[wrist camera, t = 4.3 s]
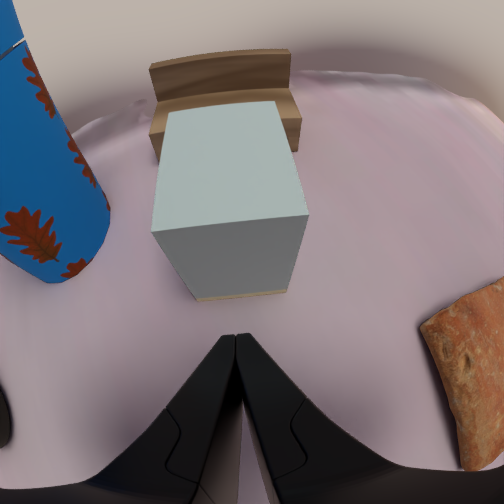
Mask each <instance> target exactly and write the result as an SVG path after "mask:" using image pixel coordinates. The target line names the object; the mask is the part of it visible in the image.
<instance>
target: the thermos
mask: <svg viewBox="0 0 504 504" xmlns="http://www.w3.org/2000/svg"><path fill="white" fill-rule="evenodd" d="M23 37H24V35H23V32H22V30H21V27H20V24H19V21H18V18H17V15H16V12H15V9H14V5H13V2H12V0H0V254H1V255H2V256H3V257H5V258H6V259H7V260H9V261H10V262H12V263H13V264H15V265H17V266H18V267H20V268H22V269H23V270H25V271H27V272H28V273H30V274H32V275H34V276H36V277H37V278H39V279H41V280H43V281H45V282H46V283H60V282H63V281H65V280H67V279H69V278H71V277H73V276H75V275H77V274H78V273H79V272H80V271H81V270H82V269H83V268H84V267H85V266H86V265H87V264H89V263H90V262H91V261H92V259H93V258H94V256H95V254H96V253H97V251H98V250H99V248H100V247H101V245H102V244H103V242H104V239H105V236H106V233H107V230H108V227H109V224H110V206H109V203H108V201H107V198H106V196H105V194H104V192H103V190H102V189H101V187H100V185H99V183H98V181H97V180H96V178H95V176H94V174H93V172H92V170H91V168H90V167H89V165H88V163H87V162H86V160H85V158H84V157H83V155H82V153H81V152H80V150H79V148H78V147H77V145H76V143H75V141H74V140H73V138H72V136H71V134H70V133H69V131H68V129H67V127H66V125H65V124H64V122H63V120H62V118H61V116H60V114H59V113H58V111H57V109H56V107H55V105H54V103H53V101H52V99H51V97H50V95H49V93H48V91H47V89H46V87H45V84H44V82H43V80H42V78H41V76H40V74H39V71H38V69H37V67H36V65H35V62H34V60H33V58H32V55H31V53H30V50H29V48H28V45H27V43H26V41H25V40H24V41H23V42H21V43H19V44H18V45H16V46H15V47H13V45H14V44H16V43H17V42H18V41H20V40H21V39H22V38H23Z"/></svg>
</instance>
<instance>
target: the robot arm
mask: <svg viewBox="0 0 504 504" xmlns="http://www.w3.org/2000/svg"><path fill="white" fill-rule="evenodd" d="M243 403H244V408H245V412H246V417H247V421H248V425H249V429H250V433H251V437H252V441H253V444H254V448H255V452H256V456H257V460H258V463H259V467H260V471H261V474H262V478H263V481H264V485H265V488H266V492H267V495H268V499H269V502H270V504H504V465H502V466H500V467H498V468H494V469H490V470H484V471H444V470H430V469H420V468H411V467H405V466H402V465H398V464H395V463H393V462H391V461H389V460H387V459H385V458H383V457H382V456H380V455H378V454H377V453H375V452H374V451H372V450H371V449H370V448H368V447H367V446H365V445H364V444H362V443H361V442H359V441H358V440H357V439H355V438H354V437H352V436H351V435H350V434H348V433H347V432H346V431H344V430H343V429H342V428H340V427H339V426H338V425H337V424H335V423H334V422H333V421H332V420H330V419H329V418H328V417H327V416H326V415H325V414H324V413H323V412H322V411H321V410H320V409H319V408H318V407H316V405H315V404H314V403H313V402H312V401H311V400H310V399H309V398H307V396H306V395H305V394H304V393H303V392H302V391H301V390H300V389H299V388H298V386H297V385H296V384H295V383H294V382H293V381H292V380H291V379H290V378H289V377H288V376H287V374H286V373H285V372H284V371H283V370H282V369H281V368H280V367H279V366H278V365H277V363H276V362H275V361H274V360H273V359H272V358H271V357H270V355H269V354H268V353H267V352H266V351H265V350H264V349H263V348H262V346H261V345H260V344H259V343H258V342H257V341H256V339H255V338H254V337H253V336H252V335H251V334H250V333H243V334H237V335H236V336H235V335H234V334H232V335H222V336H221V337H220V338H219V340H218V341H217V342H216V344H215V345H214V346H213V347H212V349H211V350H210V351H209V353H208V354H207V355H206V356H205V358H204V359H203V360H202V362H201V363H200V364H199V365H198V367H197V368H196V369H195V371H194V372H193V373H192V374H191V376H190V377H189V378H188V379H187V381H186V382H185V383H184V385H183V386H182V387H181V388H180V390H179V391H178V392H177V393H176V395H175V396H174V397H173V398H172V400H171V401H170V402H169V403H168V405H167V406H166V408H165V409H163V411H162V412H161V413H160V414H159V415H158V417H157V418H156V419H155V420H154V421H153V422H152V424H151V425H150V426H149V427H148V428H147V429H146V430H145V431H144V432H143V433H142V434H141V435H140V436H139V437H138V438H137V439H136V440H135V441H134V442H133V443H132V444H131V445H130V446H129V447H128V448H127V449H126V450H124V451H123V452H122V453H121V454H120V455H119V456H118V457H117V458H115V459H114V460H113V461H112V462H111V463H110V464H109V465H108V466H106V467H105V468H104V469H103V470H102V471H100V472H99V473H98V474H96V475H95V476H93V477H91V478H89V479H87V480H85V481H82V482H79V483H74V484H68V485H61V486H53V487H44V488H32V489H2V488H0V504H237V499H238V482H239V465H240V448H241V431H242V414H243Z"/></svg>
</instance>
